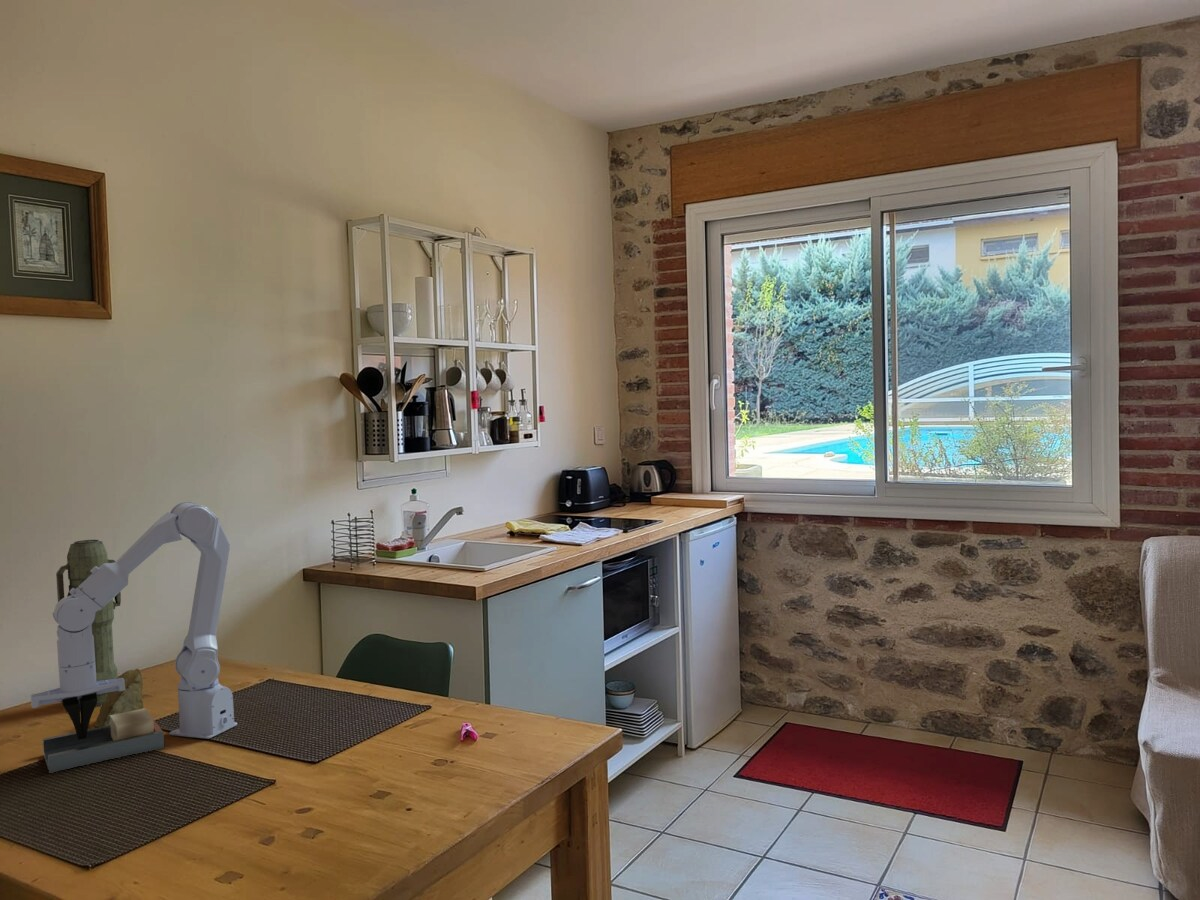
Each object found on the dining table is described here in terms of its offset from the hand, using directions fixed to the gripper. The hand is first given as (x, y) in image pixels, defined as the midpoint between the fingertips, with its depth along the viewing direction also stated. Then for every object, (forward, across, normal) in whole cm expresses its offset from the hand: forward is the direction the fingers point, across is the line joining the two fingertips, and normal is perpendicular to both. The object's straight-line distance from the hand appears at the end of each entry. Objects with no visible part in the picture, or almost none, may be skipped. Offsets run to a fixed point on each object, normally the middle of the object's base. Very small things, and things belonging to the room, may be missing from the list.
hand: (81, 737), depth 161 cm
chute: (+3, -3, 0) cm, 5 cm away
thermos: (+4, -6, -36) cm, 37 cm away
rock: (+4, -8, -19) cm, 21 cm away
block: (+2, -8, 0) cm, 8 cm away
